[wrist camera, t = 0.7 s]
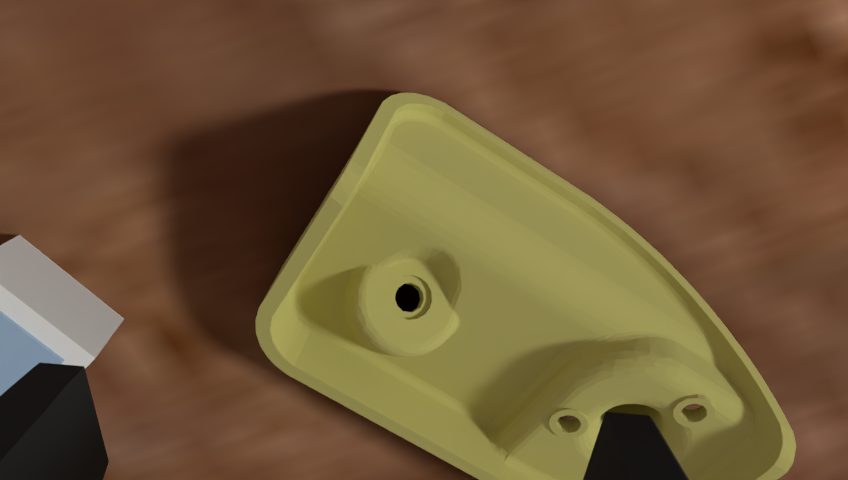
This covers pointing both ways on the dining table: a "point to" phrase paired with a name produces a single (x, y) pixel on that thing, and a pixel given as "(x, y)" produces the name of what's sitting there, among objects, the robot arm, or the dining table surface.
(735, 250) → the dining table surface
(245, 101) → the dining table surface
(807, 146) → the dining table surface
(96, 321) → the block
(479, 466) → the plastic component
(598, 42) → the dining table surface
